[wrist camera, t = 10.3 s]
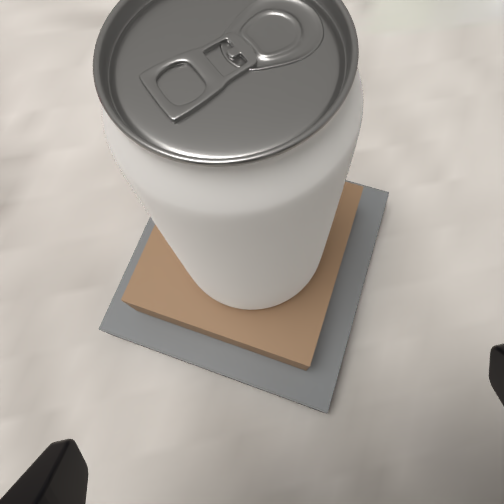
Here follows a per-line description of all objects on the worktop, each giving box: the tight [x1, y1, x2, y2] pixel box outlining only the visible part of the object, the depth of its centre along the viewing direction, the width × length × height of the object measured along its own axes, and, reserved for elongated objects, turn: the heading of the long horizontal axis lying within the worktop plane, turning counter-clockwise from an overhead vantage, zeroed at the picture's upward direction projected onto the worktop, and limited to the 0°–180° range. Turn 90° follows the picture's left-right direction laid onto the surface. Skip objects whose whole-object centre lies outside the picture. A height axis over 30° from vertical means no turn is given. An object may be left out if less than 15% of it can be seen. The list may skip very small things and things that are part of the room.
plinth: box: [99, 180, 389, 413], centre depth 22 cm, size 12×12×4 cm
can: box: [93, 0, 363, 310], centre depth 15 cm, size 6×6×12 cm
